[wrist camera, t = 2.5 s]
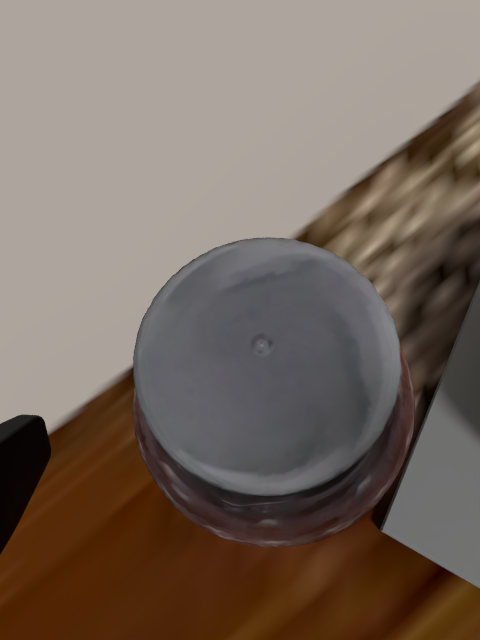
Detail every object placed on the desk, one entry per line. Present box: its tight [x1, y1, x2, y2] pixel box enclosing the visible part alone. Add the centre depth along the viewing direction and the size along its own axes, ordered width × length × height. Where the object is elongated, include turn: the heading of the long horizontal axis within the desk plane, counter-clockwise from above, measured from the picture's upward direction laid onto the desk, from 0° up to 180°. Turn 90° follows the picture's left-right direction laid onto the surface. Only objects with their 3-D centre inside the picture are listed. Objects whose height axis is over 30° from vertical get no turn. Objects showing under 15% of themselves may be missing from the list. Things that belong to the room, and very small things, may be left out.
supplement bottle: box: [133, 238, 415, 548], centre depth 11 cm, size 6×6×11 cm
